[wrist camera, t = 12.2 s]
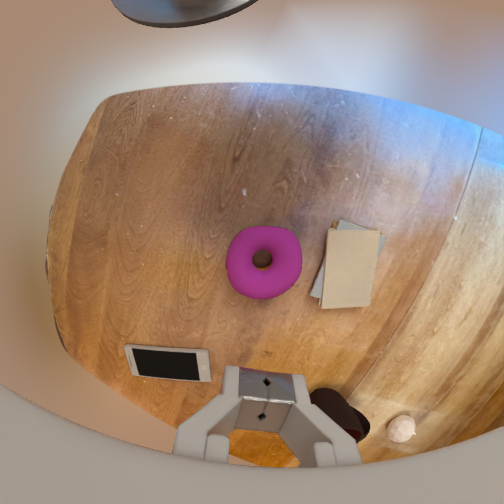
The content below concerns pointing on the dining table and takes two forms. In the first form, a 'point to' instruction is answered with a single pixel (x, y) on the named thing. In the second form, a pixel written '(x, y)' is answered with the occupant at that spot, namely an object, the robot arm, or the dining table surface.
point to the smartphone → (169, 362)
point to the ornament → (401, 428)
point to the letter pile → (348, 266)
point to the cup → (341, 412)
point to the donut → (268, 278)
